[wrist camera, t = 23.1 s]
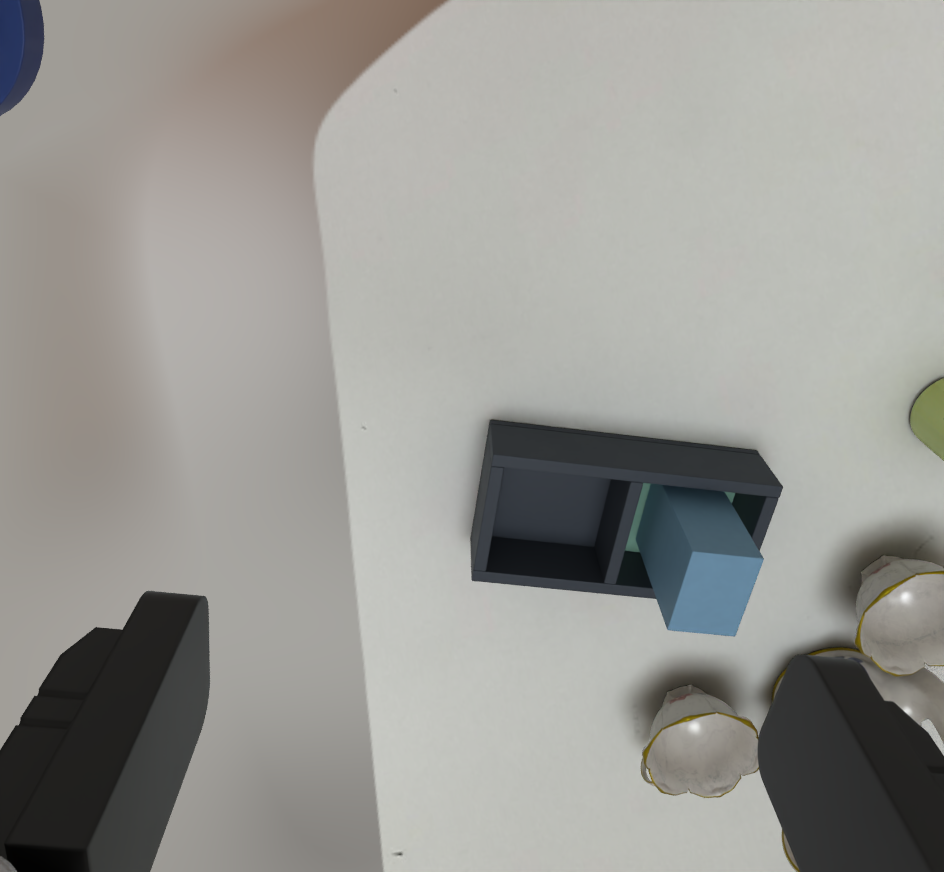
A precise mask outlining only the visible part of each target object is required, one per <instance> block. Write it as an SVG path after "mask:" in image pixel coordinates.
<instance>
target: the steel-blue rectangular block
mask: <svg viewBox="0 0 944 872" xmlns="http://www.w3.org/2000/svg"><path fill="white" fill-rule="evenodd" d="M636 542H637V545H638V548H639V551H640V554H641V556H642V559H643V562H644V565H645V568H646V570H647V573H648V576H649V579H650V582H651V585H652V587H653V590H654V593H655V596H656V599H657V602H658V604H659V607H660V610H661V613H662V616H663V618H664V621H665V624H666V627H667V630H672V631H683V632H693V633H704V634H714V635H725V636H735V635H736V632H737V630H738V627H739V624H740V622H741V619H742V616H743V614H744V611H745V608H746V605H747V603H748V600H749V597H750V595H751V592H752V589H753V587H754V584H755V581H756V579H757V576H758V573H759V571H760V568H761V565H762V563H763V560H764V558H763V557H762V555H761V553H760V551H759V550H758V548H757V546H756V545H755V543H754V541H753V540H752V538H751V536H750V534H749V533H748V531H747V529H746V528H745V526H744V524H743V522H742V521H741V519H740V517H739V516H738V514H737V512H736V510H735V509H734V507H733V505H732V504H731V502H730V500H729V498H728V497H727V495H726V493H725V492H722V491H713V490H704V489H695V488H686V487H677V486H668V485H659V484H651V485H650V489H649V492H648V496H647V500H646V503H645V507H644V510H643V514H642V518H641V521H640V525H639V528H638V532H637V536H636Z"/></svg>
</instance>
